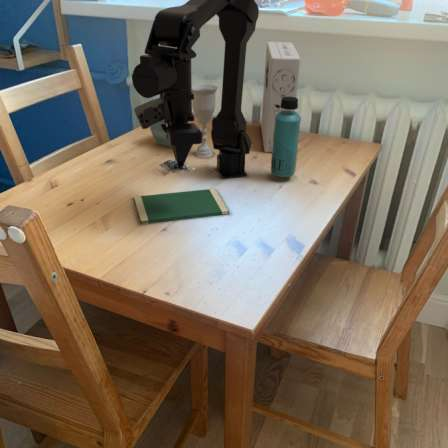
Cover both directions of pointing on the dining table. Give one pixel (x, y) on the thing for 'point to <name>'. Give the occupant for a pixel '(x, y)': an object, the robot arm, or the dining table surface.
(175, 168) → the blueberries
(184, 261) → the dining table surface
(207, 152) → the chalice
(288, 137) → the beverage bottle
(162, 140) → the flower pot
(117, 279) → the dining table surface
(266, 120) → the cereal box
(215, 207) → the green flat rectangular block
